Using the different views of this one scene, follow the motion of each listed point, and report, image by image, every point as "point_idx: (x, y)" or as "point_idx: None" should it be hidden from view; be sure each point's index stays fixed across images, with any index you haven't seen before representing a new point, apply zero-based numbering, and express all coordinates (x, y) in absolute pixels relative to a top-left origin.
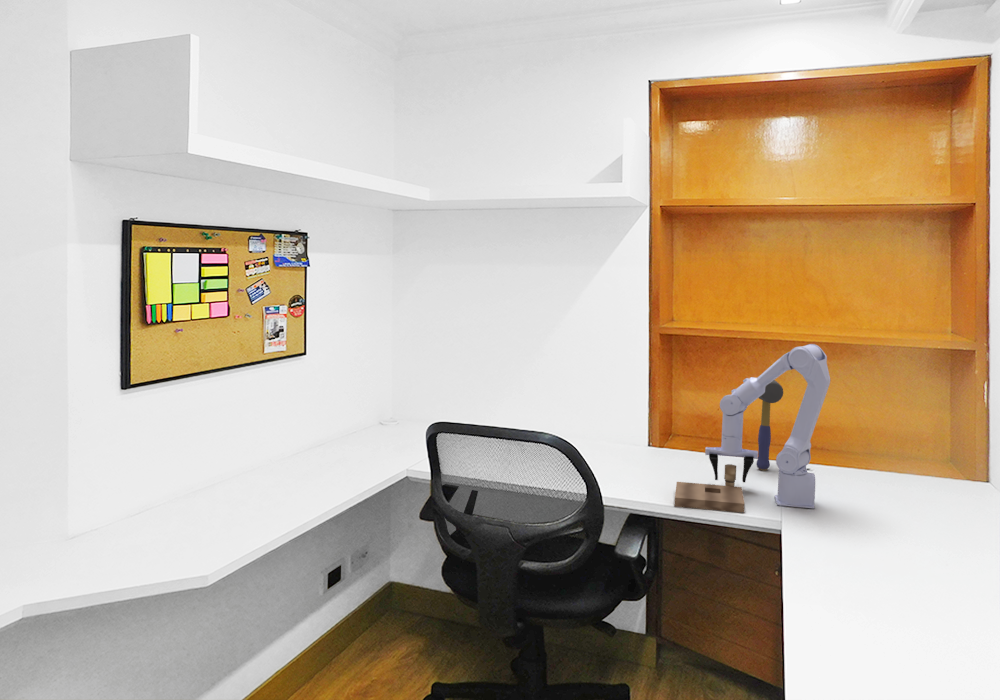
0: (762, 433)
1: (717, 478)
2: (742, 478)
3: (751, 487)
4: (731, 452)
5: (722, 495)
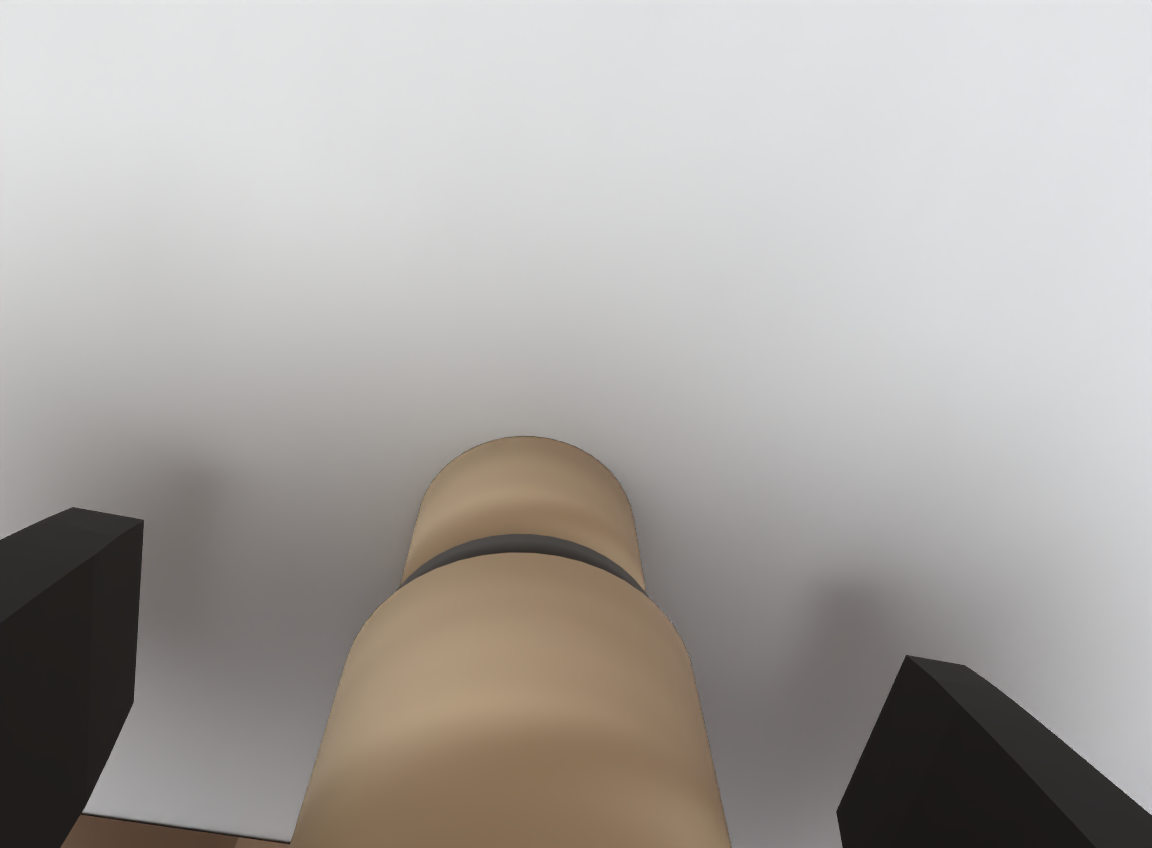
0: None
1: (100, 753)
2: (927, 698)
3: (1136, 370)
4: None
5: None
